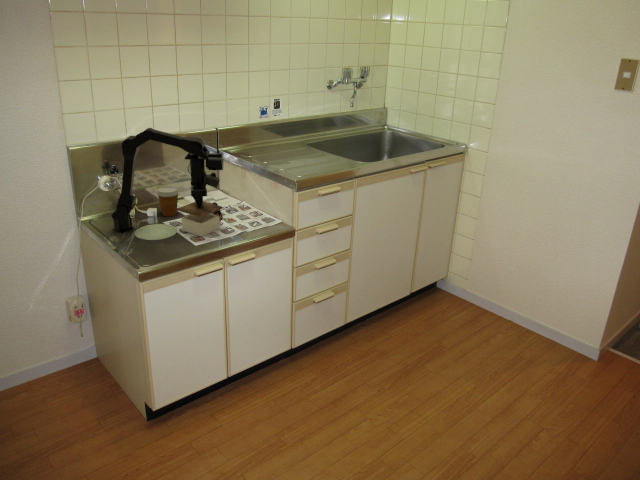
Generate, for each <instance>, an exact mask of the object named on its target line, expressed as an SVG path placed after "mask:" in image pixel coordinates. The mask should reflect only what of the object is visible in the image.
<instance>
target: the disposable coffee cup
mask: <svg viewBox="0 0 640 480" xmlns="http://www.w3.org/2000/svg"><path fill="white" fill-rule="evenodd" d="M179 193H180V191H179V189H178V187H175V186H172V185H171V186H170V185H169V186H161V187H158V189H157V191H156V195H157V196H158V202H159V205H160V209H161V214H162V216H164V217H172V216H173V217H175V216H176V215H177V214H178V210H177V208H178V203H179V202H178V199H179Z"/></svg>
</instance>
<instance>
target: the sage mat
mask: <svg viewBox="0 0 640 480" xmlns="http://www.w3.org/2000/svg"><path fill="white" fill-rule="evenodd" d="M177 232H178V229H177V228H176V227H175V226H174V225H171V224H166V223H154V224H148V225H143V226H141V227H139V228H137V229H136V230H135V231H134V235H135V237H137V238H138V239H140V240H141V239H142V240H147V241H148V240H149V241H156V240H164V239H168V238H171V237H173V236H175V235H176V233H177Z"/></svg>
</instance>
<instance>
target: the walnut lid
mask: <svg viewBox="0 0 640 480" xmlns="http://www.w3.org/2000/svg"><path fill="white" fill-rule="evenodd" d="M211 203H212V202H207V201H204V198H203V199H202V205H201V208H199V207H198V206H197V204H196V202H195V201H193V202H191V203H188V204H186V205H183V206H180V207H177V212H178V211H179V212H182V213H186V214H187V215H190V214H191V215H195V216H198V217H202V216H205V215H207V214H210V213H212V212H215V211H217V210H219V209H220V210H222V209H223V206H222V205H219V204H218V205H215V204H211Z"/></svg>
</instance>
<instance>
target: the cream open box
mask: <svg viewBox="0 0 640 480" xmlns="http://www.w3.org/2000/svg"><path fill="white" fill-rule="evenodd" d="M180 219H181V230H182V231H183V232H186V233H190V234H193V235H196V236H199V237H204V236H206V235H208V234H211V233H213V232H215V231H216V230H219V229H221V225H220V224H221V223H220V221H221V220H220V218H219V215H218V214H207V215H205V216H202V217H198V216H195V215H191V214H187V215H184V216H183V217H181V218H180Z"/></svg>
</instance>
